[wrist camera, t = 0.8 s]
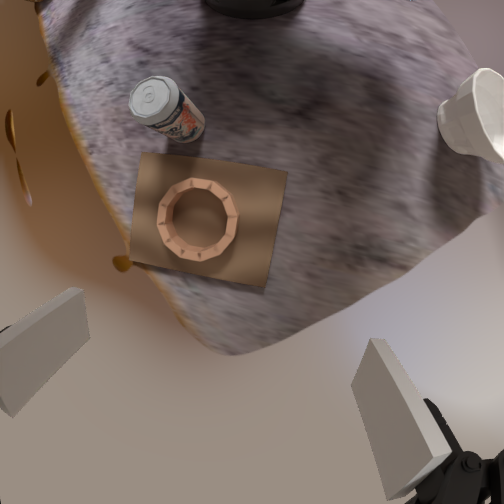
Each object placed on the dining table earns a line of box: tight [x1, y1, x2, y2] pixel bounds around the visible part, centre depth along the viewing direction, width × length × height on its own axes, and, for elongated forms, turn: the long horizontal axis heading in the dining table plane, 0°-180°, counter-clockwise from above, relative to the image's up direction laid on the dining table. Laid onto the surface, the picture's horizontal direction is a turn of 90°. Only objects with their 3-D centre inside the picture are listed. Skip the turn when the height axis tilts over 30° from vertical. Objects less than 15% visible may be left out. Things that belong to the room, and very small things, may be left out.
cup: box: [437, 68, 504, 164], centre depth 22 cm, size 12×12×11 cm
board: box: [129, 152, 288, 288], centre depth 32 cm, size 14×18×1 cm
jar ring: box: [157, 178, 240, 262], centre depth 30 cm, size 9×9×2 cm
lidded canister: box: [129, 76, 205, 143], centre depth 24 cm, size 5×5×12 cm
